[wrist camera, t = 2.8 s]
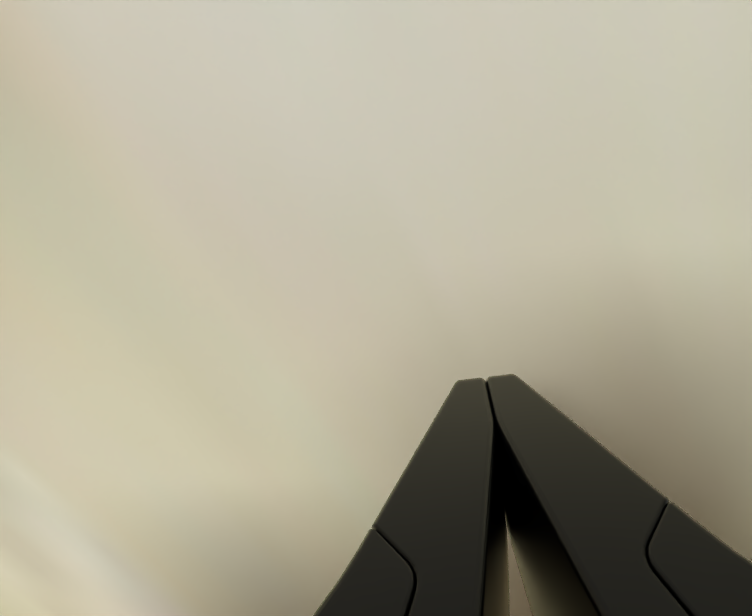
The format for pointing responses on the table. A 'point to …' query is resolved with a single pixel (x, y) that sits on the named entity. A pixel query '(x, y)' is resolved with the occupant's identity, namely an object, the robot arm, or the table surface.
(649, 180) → the table surface
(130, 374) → the table surface
